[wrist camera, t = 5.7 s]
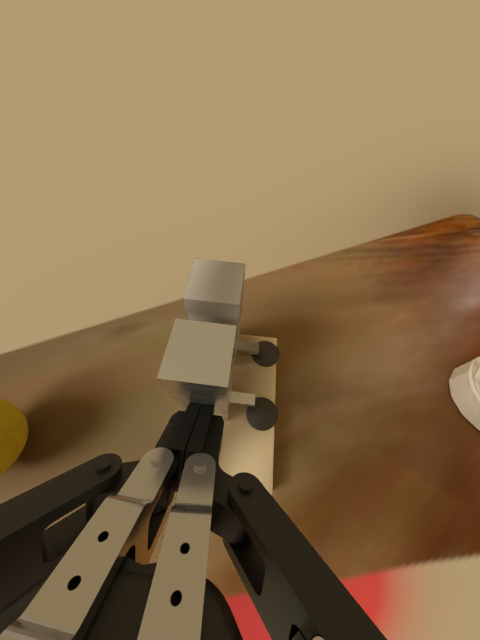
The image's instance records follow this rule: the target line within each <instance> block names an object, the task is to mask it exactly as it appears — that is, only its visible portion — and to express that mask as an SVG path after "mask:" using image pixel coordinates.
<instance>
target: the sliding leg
mask: <svg viewBox="0 0 480 640" xmlns="http://www.w3.org/2000/svg"><path fill="white" fill-rule="evenodd" d="M236 328H237V326H235V325H227V324H219V323H210V322H202V321H194V320H185V319H177V318H176V319H175V322H174V325H173V328H172V331H171V335H170V338H169V341H168V344H167V347H166V351H165V354H164V357H163V360H162V363H161V366H160V370H159V373H158V376H157V379H158V380H159V382H160V383H161V384H162V385H163V386H164V387H165V389H166V390H167V391H168V392H169V393H170V394H171V396H172V397H173V398H174V399H175V400H176V401H177V403H178V404H179V405H180V406H181V407H182V408H183V410H184V411H186V409H187V406H188V404H189V403H196V404H204V405H212V406H215V409H214V415H218V416H222V418H223V420H227V421H228V418H229V410H230V404H234V405H242V406H249V407H254V406H255V394H249V393H241V392H233V391H232V387H233V377H234V361H235V344H236Z"/></svg>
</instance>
